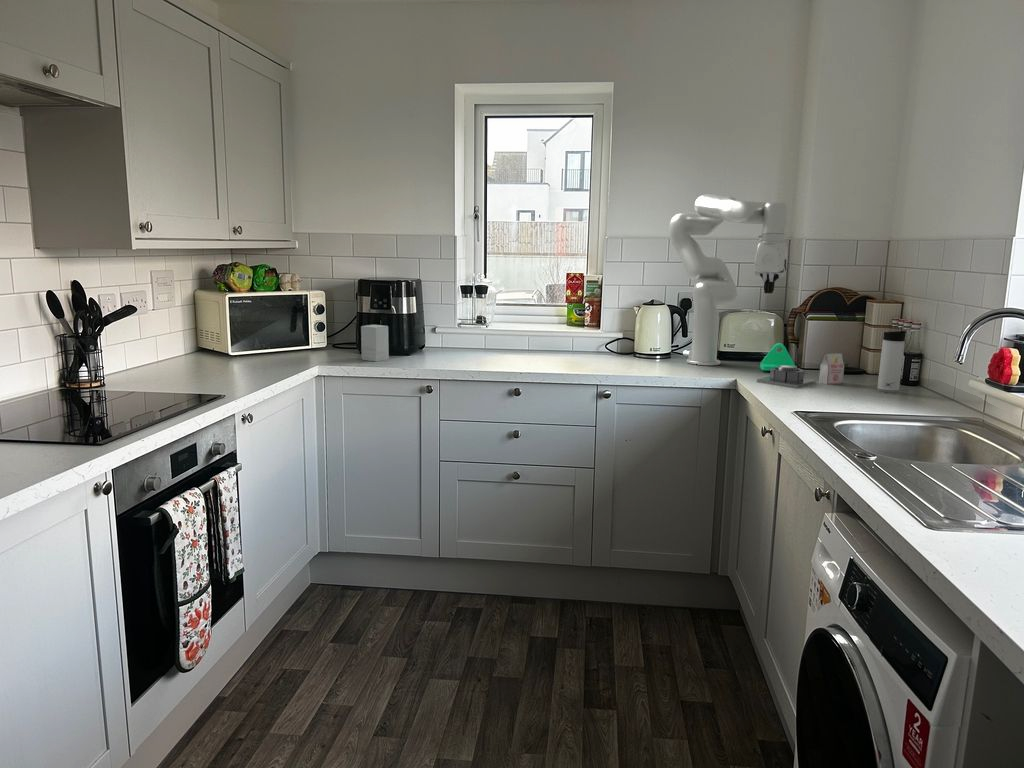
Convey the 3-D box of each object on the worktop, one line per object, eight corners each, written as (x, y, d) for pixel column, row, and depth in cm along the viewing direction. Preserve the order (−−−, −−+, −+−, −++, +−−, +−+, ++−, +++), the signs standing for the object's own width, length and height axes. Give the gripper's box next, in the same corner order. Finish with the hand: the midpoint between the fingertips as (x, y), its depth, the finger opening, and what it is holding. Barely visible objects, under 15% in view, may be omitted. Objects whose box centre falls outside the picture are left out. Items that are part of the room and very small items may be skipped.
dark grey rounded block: (773, 379, 258) (774, 366, 257) (781, 377, 262) (783, 364, 262) (790, 382, 254) (792, 368, 253) (798, 380, 258) (800, 366, 258)
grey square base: (756, 381, 258) (757, 368, 258) (776, 377, 268) (777, 364, 267) (797, 388, 249) (798, 374, 248) (815, 383, 259) (816, 370, 258)
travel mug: (890, 394, 242) (898, 331, 238) (872, 390, 248) (879, 329, 244) (903, 393, 245) (911, 330, 241) (885, 389, 251) (892, 328, 247)
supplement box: (389, 359, 286) (389, 325, 284) (375, 361, 280) (375, 327, 278) (374, 357, 290) (374, 324, 288) (360, 359, 284) (360, 325, 282)
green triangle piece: (761, 373, 278) (764, 344, 276) (759, 369, 285) (762, 342, 283) (796, 375, 275) (799, 346, 273) (794, 371, 283) (796, 344, 281)
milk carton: (818, 382, 261) (821, 353, 259) (834, 381, 263) (837, 352, 261) (826, 384, 257) (829, 355, 255) (842, 383, 260) (845, 354, 258)
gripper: (747, 238, 265) (743, 292, 268) (789, 239, 254) (784, 295, 258) (758, 238, 270) (753, 291, 273) (799, 239, 260) (794, 294, 263)
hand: (768, 293), depth 266 cm, fingers closed
